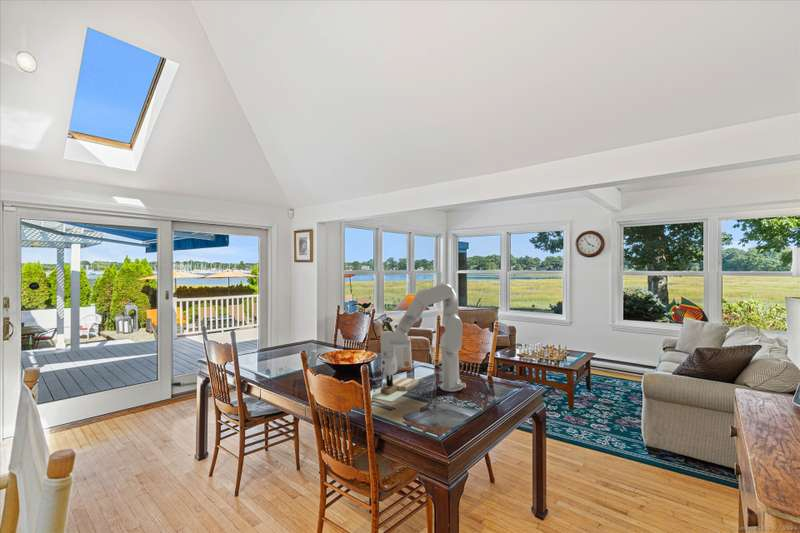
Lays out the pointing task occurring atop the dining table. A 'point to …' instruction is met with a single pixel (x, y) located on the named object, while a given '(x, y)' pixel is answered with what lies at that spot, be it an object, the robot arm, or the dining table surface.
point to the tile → (389, 390)
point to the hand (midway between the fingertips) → (389, 385)
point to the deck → (404, 383)
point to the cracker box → (403, 356)
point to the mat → (387, 397)
